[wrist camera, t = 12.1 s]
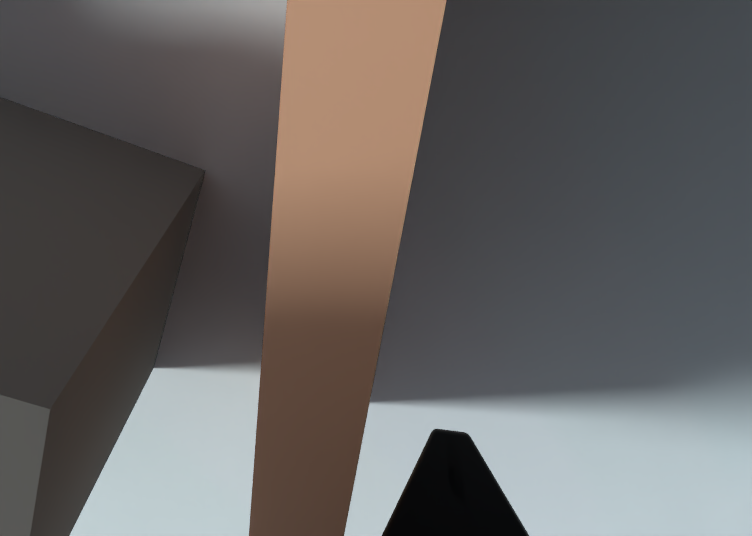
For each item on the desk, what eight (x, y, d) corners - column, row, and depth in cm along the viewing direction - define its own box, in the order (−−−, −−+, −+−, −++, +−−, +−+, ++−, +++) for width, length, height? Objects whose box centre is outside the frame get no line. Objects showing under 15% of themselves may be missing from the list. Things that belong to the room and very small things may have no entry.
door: (379, -339, 7) (330, -606, 3) (472, -322, 7) (554, -560, 3) (295, 407, 13) (238, 677, 9) (347, 415, 13) (314, 687, 9)
